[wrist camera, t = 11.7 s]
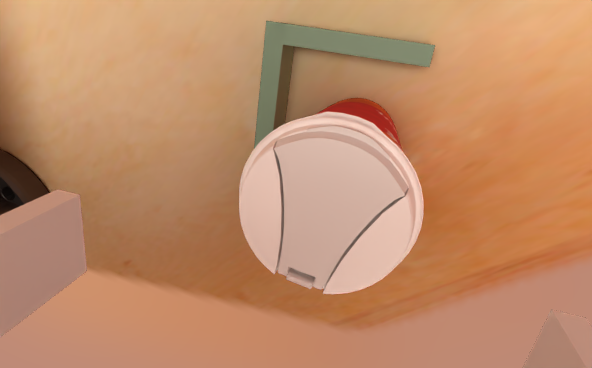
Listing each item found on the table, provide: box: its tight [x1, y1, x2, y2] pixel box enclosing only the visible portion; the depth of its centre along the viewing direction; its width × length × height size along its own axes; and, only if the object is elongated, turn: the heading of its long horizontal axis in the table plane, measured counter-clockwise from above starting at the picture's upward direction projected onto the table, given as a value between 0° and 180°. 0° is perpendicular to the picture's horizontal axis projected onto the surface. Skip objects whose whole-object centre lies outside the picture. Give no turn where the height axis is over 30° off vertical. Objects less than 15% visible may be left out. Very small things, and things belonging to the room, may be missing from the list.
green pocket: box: [254, 21, 435, 149], centre depth 26 cm, size 10×13×3 cm
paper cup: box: [239, 98, 423, 294], centre depth 21 cm, size 8×8×14 cm
